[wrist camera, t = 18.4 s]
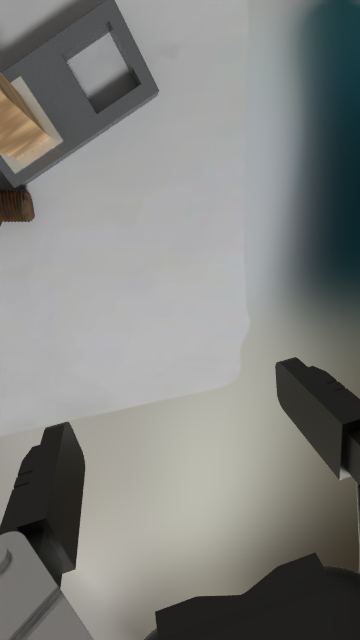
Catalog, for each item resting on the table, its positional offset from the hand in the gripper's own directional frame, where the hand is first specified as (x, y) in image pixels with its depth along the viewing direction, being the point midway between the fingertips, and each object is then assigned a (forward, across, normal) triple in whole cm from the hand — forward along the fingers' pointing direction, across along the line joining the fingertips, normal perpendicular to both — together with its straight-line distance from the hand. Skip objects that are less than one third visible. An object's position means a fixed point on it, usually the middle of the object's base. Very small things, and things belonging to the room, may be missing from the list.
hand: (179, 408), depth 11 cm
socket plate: (+30, +3, -17) cm, 35 cm away
